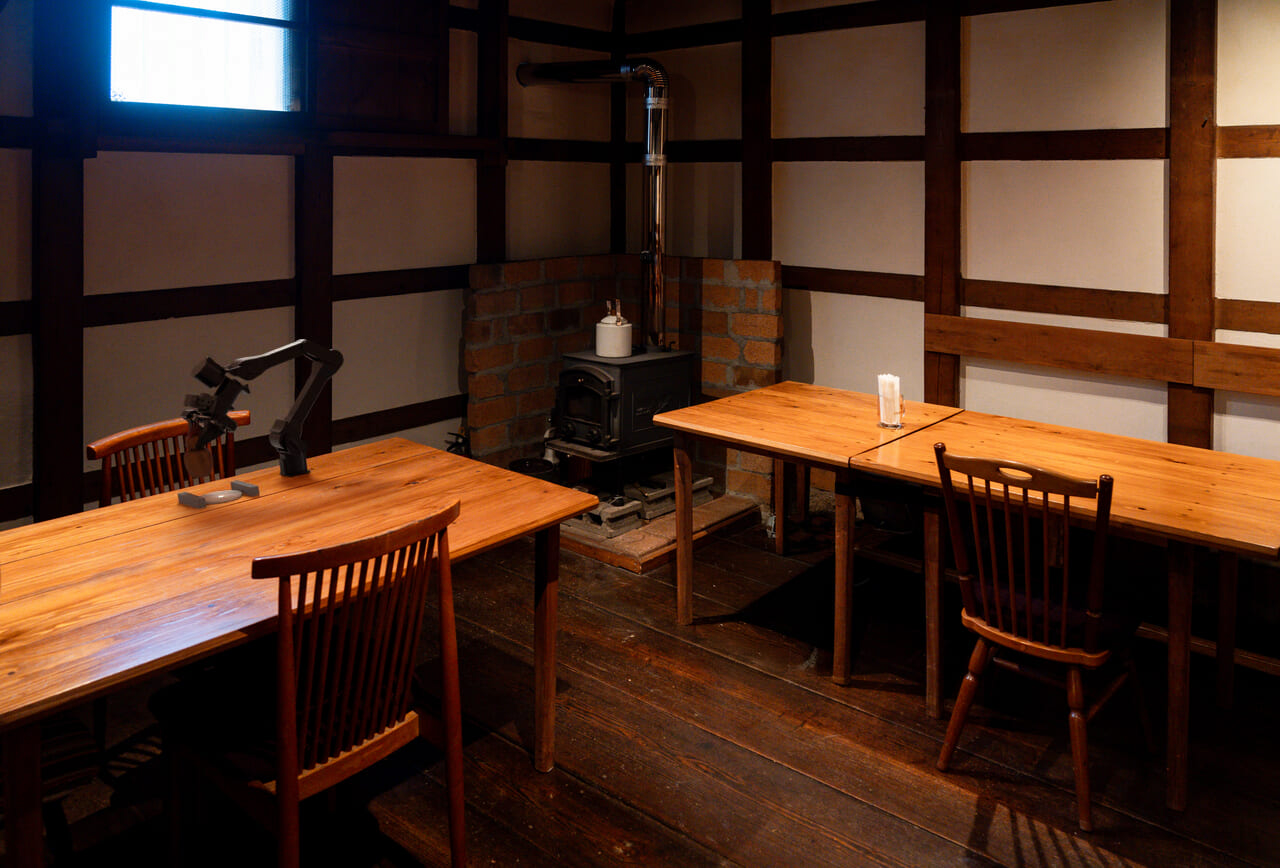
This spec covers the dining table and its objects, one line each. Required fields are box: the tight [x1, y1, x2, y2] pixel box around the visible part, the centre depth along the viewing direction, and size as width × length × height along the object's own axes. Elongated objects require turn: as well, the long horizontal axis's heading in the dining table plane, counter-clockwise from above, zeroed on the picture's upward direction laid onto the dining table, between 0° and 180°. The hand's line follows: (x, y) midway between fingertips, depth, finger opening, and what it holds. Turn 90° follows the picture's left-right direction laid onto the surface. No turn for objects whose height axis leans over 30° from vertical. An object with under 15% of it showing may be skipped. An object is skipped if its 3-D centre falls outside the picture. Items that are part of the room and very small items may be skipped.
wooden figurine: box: [183, 420, 214, 479], centre depth 258 cm, size 7×6×15 cm
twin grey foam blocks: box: [176, 479, 260, 510], centre depth 255 cm, size 16×12×2 cm
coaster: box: [199, 489, 243, 505], centre depth 255 cm, size 11×11×1 cm
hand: (191, 447), depth 257 cm, fingers closed on wooden figurine, 5 cm apart
